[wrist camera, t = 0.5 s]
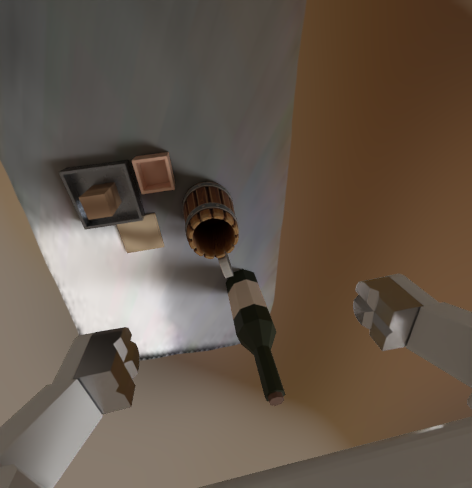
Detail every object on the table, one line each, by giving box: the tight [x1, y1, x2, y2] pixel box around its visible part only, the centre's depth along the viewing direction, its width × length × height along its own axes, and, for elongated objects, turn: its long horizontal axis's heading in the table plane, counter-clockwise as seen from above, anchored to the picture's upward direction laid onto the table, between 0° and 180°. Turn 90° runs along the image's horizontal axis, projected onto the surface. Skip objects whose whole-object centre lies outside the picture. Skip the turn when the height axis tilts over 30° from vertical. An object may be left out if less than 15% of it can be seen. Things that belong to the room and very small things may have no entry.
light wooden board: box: [117, 213, 164, 253], centre depth 53 cm, size 8×8×1 cm
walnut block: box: [79, 182, 122, 220], centre depth 45 cm, size 4×4×7 cm
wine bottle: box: [226, 269, 285, 406], centre depth 52 cm, size 8×8×30 cm
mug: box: [182, 182, 239, 278], centre depth 48 cm, size 16×11×15 cm
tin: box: [59, 160, 145, 229], centre depth 47 cm, size 11×11×3 cm
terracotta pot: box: [132, 152, 176, 194], centre depth 46 cm, size 6×6×4 cm
